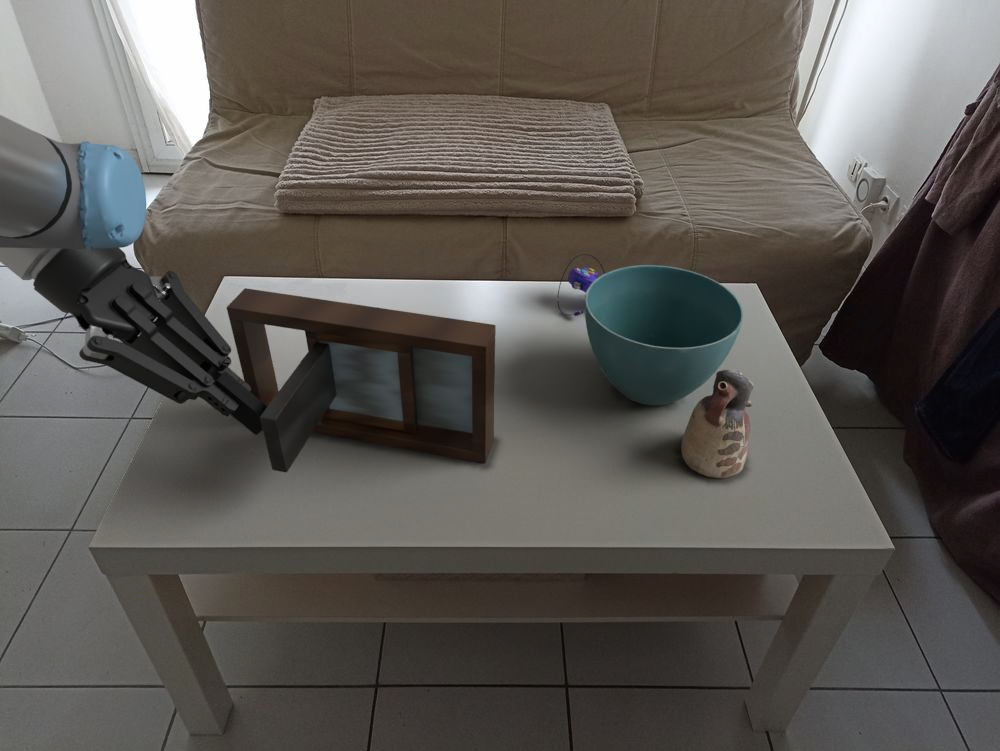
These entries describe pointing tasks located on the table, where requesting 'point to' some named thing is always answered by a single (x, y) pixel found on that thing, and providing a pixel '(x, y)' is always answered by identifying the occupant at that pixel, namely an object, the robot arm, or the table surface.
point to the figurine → (720, 428)
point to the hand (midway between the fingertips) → (266, 425)
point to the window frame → (435, 342)
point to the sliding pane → (340, 392)
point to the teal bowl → (660, 330)
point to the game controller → (581, 280)
